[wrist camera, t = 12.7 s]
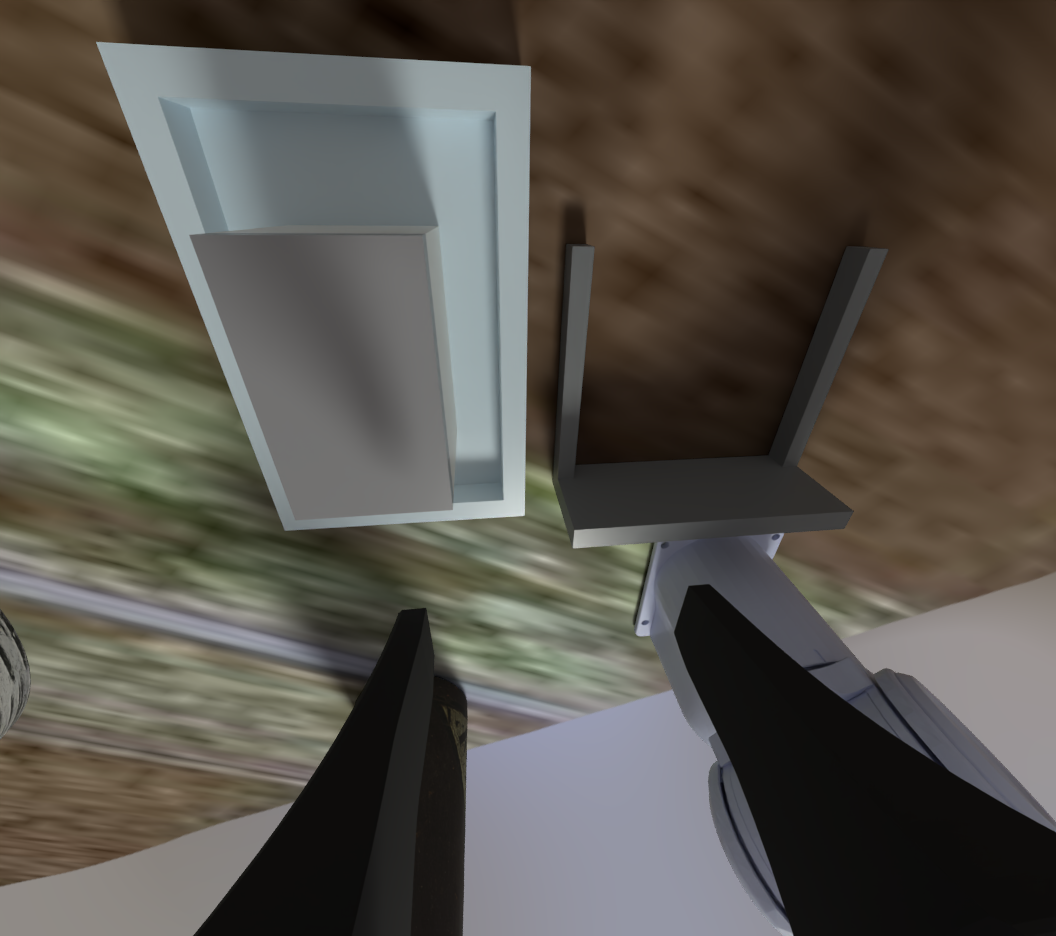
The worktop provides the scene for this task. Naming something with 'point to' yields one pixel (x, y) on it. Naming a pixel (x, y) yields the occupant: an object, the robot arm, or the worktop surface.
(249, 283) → the block
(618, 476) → the bay
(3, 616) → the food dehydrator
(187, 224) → the tray
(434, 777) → the container
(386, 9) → the worktop surface
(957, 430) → the worktop surface
